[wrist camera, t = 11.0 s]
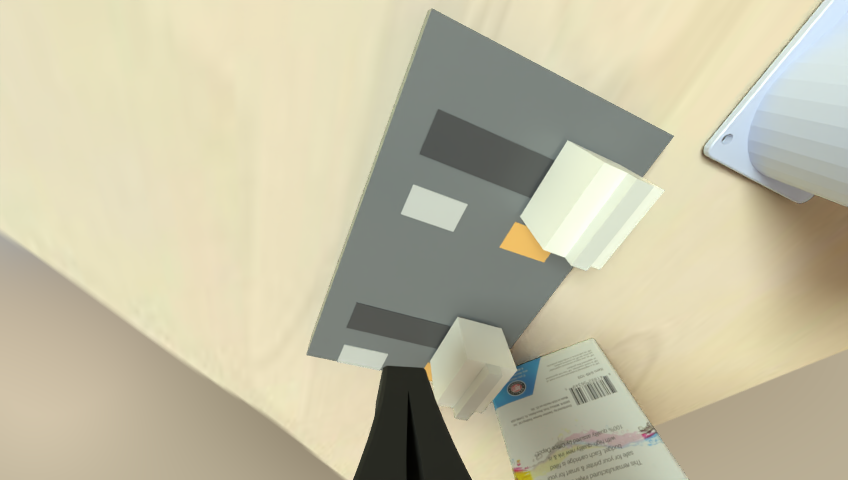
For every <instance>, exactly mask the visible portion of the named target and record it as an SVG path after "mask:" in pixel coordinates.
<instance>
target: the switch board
mask: <svg viewBox="0 0 848 480" xmlns="http://www.w3.org/2000/svg"><path fill="white" fill-rule="evenodd" d="M673 137H674V136H673V135H671V134H669V133H667V132H665V131H663V130H661V129H660V128H658V127H656V126H654V125H652V124H650V123H648V122H646V121H644V120H642V119H641V118H639V117H637V116H635V115H633V114H631V113H629V112H627V111H625V110H624V109H622V108H620V107H618V106H616V105H614V104H612V103H610V102H608V101H606V100H605V99H603V98H601V97H599V96H597V95H595V94H593V93H591V92H589V91H587V90H586V89H584V88H582V87H580V86H578V85H576V84H574V83H572V82H570V81H569V80H567V79H565V78H563V77H561V76H559V75H557V74H555V73H553V72H551V71H550V70H548V69H546V68H544V67H542V66H540V65H538V64H536V63H534V62H532V61H531V60H529V59H527V58H525V57H523V56H521V55H519V54H517V53H515V52H514V51H512V50H510V49H508V48H506V47H504V46H502V45H500V44H498V43H496V42H495V41H493V40H491V39H489V38H487V37H485V36H483V35H481V34H479V33H477V32H476V31H474V30H472V29H470V28H468V27H466V26H464V25H462V24H460V23H459V22H457V21H455V20H453V19H451V18H449V17H447V16H445V15H443V14H441V13H440V12H438V11H436V10H434V9H430V10H429V11H428V12H427V15H426V18H425V21H424V24H423V26H422V29H421V32H420V35H419V38H418V40H417V43H416V46H415V49H414V51H413V54H412V57H411V60H410V63H409V65H408V68H407V71H406V74H405V77H404V79H403V82H402V85H401V88H400V91H399V93H398V96H397V99H396V102H395V104H394V107H393V110H392V113H391V116H390V118H389V121H388V124H387V127H386V130H385V132H384V135H383V138H382V141H381V143H380V146H379V149H378V152H377V155H376V157H375V160H374V163H373V166H372V169H371V171H370V174H369V177H368V180H367V183H366V185H365V188H364V191H363V194H362V196H361V199H360V202H359V205H358V208H357V210H356V213H355V216H354V219H353V222H352V224H351V227H350V230H349V233H348V236H347V238H346V241H345V244H344V247H343V249H342V252H341V255H340V258H339V261H338V263H337V266H336V269H335V272H334V275H333V277H332V280H331V283H330V286H329V289H328V291H327V294H326V297H325V300H324V302H323V305H322V308H321V311H320V314H319V316H318V319H317V322H316V325H315V328H314V330H313V333H312V336H311V340H310V343H309V347H308V351H307V355H309V356H314V357H319V358H324V359H329V360H333V361H337V362H340V363H345V364H350V365H355V366H360V367H365V368H370V369H375V370H379V371H380V370H383V367H385V366H403V367H419V368H424V369H425V370H426V372H427V376H428V379H429V381H432V373H431V364H430V360H431V359H432V357H433V355H434V354H435V352H436V351H437V349H438V347H439V346H440V344H441V343H442V341H443V339H444V338H445V336H446V335H447V333H448V331H449V330H450V328H451V327H452V325H453V323H454V322H455V320H456V319H457V317H460V318H464V319H468V320H472V321H475V322H479V323H483V324H487V325H490V326H494V327H498V328H502V331H503V333H504V336H505V339H506V342H507V344H508V347H509V350H510V349H511V347H512V346H513V345H514V343H515V342H516V341H517V339H518V338H519V337H520V336H521V334H522V333H523V332H524V330H525V329H526V328H527V326H528V325H529V324H530V323H531V321H532V320H533V319H534V317H535V316H536V315H537V313H538V312H539V311H540V310H541V308H542V307H543V306H544V304H545V303H546V302H547V300H548V299H549V298H550V297H551V295H552V294H553V293H554V291H555V290H556V289H557V287H558V286H559V285H560V284H561V282H562V281H563V280H564V278H565V277H566V276H567V275H568V273H569V272H570V271H571V269H572V268H573V266H571V265H570V263H569V262H568V261H567V260H566V258H565V257H562V256H559V255H556V254H554V253H551V252H548V251H545V250H543V249H542V247H541V246H540V244H539V243H538V242H537V240H536V239H535V237H534V236H533V234H532V233H531V232H530V230H529V229H528V227H527V226H526V224H525V223H524V222H523V220H522V219H521V217H520V216H521V214H522V213H523V211H524V209H525V208H526V206H527V205H528V203H529V201H530V200H531V198H532V197H533V195H534V193H535V192H536V190H537V189H538V187H539V185H540V184H541V182H542V181H543V179H544V177H545V176H546V174H547V173H548V171H549V169H550V168H551V166H552V164H553V163H554V161H555V160H556V158H557V156H558V155H559V153H560V152H561V150H562V148H563V147H564V145H565V144H566V142H567V140H568V141H571V142H573V143H575V144H577V145H579V146H581V147H583V148H585V149H588V150H590V151H592V152H594V153H596V154H598V155H600V156H603V157H605V158H607V159H609V160H611V161H613V162H615V163H618V164H620V165H621V166H623V167H625V168H627V169H628V170H630V171H632V172H634V173H635V174H637V175H639V176H641V177H643V176H644V175H645V173H646V172H647V171H648V169H649V168H650V167H651V165H652V164H653V163H654V162H655V160H656V159H657V158H658V156H659V155H660V154H661V152H662V151H663V150H664V149H665V147H666V146H667V145H668V143H669V142H670V141H671V139H672V138H673Z"/></svg>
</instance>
